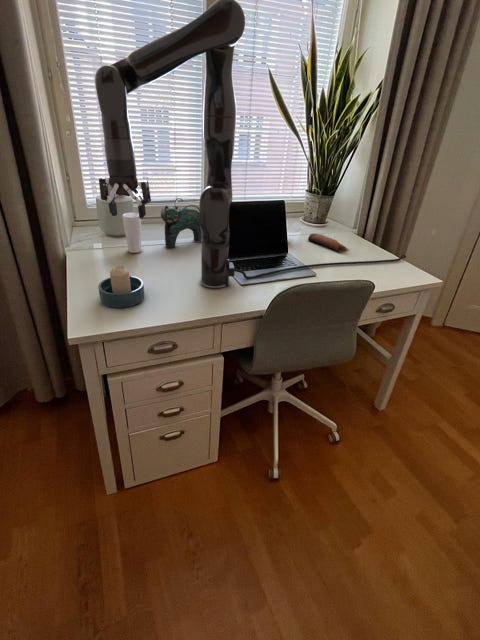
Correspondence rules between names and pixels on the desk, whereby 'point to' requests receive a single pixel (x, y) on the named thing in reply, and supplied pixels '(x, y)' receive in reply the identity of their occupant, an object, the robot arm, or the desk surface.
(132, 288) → the bowl
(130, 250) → the drinking glass
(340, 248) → the brown tapered cylinder
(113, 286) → the candle
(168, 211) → the ceramic cat
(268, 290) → the desk surface
